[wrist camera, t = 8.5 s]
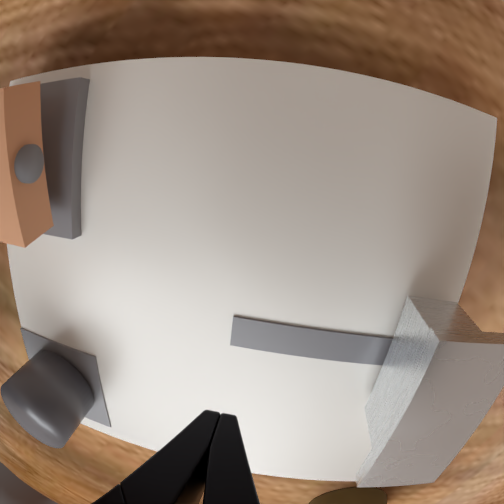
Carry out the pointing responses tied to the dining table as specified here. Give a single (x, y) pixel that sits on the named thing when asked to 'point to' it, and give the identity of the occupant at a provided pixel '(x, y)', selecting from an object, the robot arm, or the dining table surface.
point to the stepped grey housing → (429, 393)
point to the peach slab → (22, 167)
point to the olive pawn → (352, 496)
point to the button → (48, 398)
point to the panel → (244, 244)
